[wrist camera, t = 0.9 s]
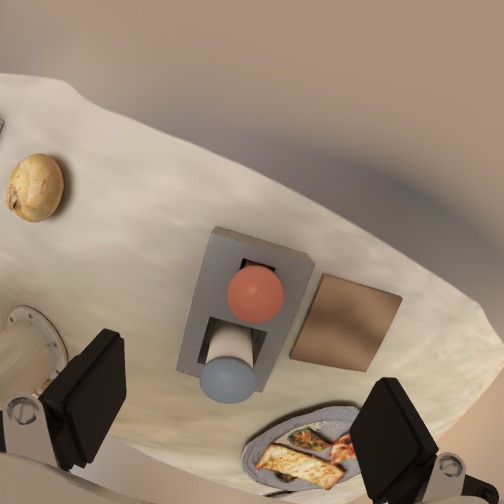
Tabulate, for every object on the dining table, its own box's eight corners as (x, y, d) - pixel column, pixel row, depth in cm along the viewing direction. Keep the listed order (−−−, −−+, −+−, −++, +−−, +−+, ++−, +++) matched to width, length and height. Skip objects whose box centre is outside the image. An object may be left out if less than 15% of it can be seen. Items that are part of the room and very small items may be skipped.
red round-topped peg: (267, 297, 29) (273, 328, 23) (226, 286, 29) (221, 314, 23) (281, 258, 28) (291, 279, 22) (239, 245, 28) (236, 263, 22)
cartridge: (246, 351, 33) (246, 408, 23) (207, 341, 33) (194, 395, 23) (258, 317, 32) (263, 370, 22) (217, 306, 32) (206, 356, 22)
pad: (363, 368, 34) (365, 372, 34) (288, 355, 33) (289, 358, 33) (399, 296, 32) (402, 298, 31) (322, 273, 31) (324, 275, 30)
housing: (260, 372, 34) (261, 392, 30) (182, 351, 33) (175, 370, 29) (306, 253, 30) (315, 264, 27) (215, 226, 30) (211, 232, 26)
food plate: (406, 431, 38) (413, 444, 35) (314, 491, 43) (315, 503, 39) (319, 377, 35) (324, 393, 32) (215, 453, 39) (213, 468, 36)
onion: (30, 158, 27) (-6, 157, 20) (74, 152, 27) (38, 148, 20) (29, 218, 29) (-6, 227, 22) (72, 218, 29) (37, 228, 22)
